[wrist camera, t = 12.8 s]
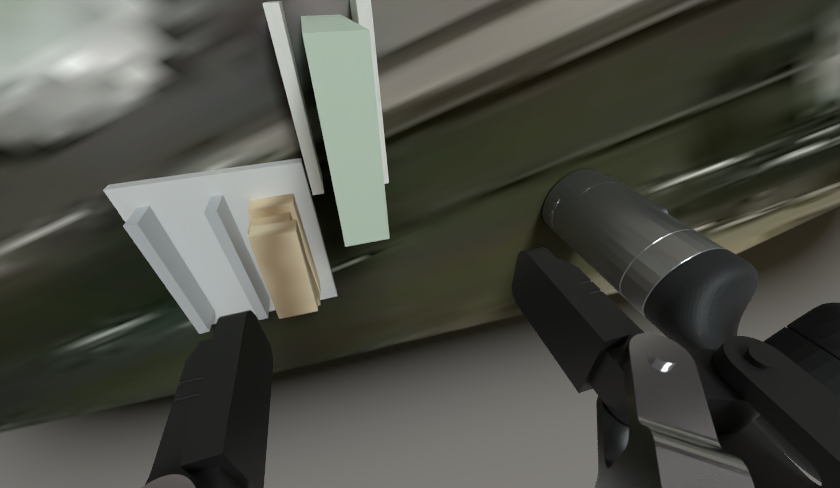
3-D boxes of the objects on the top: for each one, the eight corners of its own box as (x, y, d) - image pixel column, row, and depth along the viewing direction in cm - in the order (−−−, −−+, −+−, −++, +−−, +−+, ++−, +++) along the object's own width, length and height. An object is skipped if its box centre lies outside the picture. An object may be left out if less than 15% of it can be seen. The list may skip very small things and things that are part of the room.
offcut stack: (295, 193, 32) (294, 226, 28) (321, 281, 40) (324, 319, 35) (248, 200, 31) (240, 235, 27) (284, 289, 39) (282, 329, 34)
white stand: (361, -3, 26) (370, -2, 23) (380, 166, 34) (388, 182, 31) (267, 1, 24) (262, 3, 21) (311, 176, 33) (312, 195, 30)
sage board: (340, 14, 26) (369, 29, 15) (360, 159, 33) (389, 238, 23) (300, 16, 25) (302, 33, 15) (330, 163, 33) (345, 246, 22)
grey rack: (301, 158, 31) (301, 175, 28) (336, 290, 42) (339, 313, 39) (108, 184, 28) (85, 208, 25) (200, 320, 39) (192, 348, 36)
